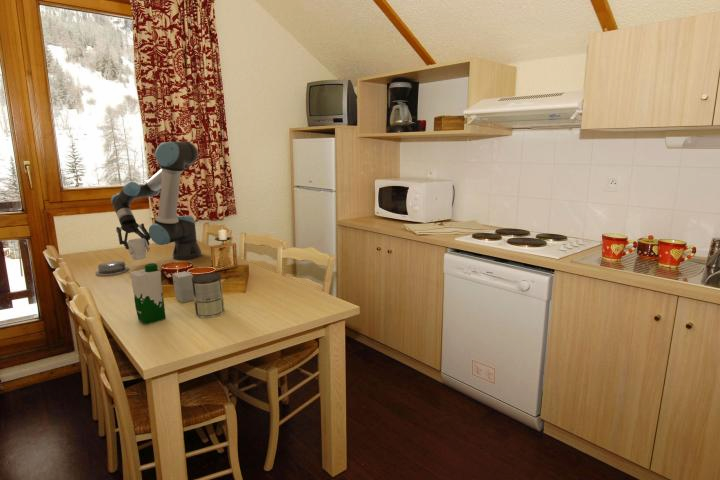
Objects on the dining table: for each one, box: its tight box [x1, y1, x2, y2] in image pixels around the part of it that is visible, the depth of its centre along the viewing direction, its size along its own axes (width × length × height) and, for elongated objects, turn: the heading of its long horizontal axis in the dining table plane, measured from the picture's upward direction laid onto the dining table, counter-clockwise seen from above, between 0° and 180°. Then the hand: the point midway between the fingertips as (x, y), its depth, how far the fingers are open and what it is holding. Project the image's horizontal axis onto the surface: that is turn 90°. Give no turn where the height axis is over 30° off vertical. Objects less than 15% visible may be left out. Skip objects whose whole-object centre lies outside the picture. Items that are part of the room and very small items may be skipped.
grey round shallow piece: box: [95, 260, 130, 277], centre depth 229 cm, size 15×15×4 cm
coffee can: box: [192, 272, 226, 319], centre depth 167 cm, size 10×10×14 cm
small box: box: [171, 271, 194, 303], centre depth 183 cm, size 8×6×10 cm
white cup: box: [127, 237, 147, 261], centre depth 238 cm, size 8×8×10 cm
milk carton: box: [130, 262, 166, 325], centre depth 161 cm, size 9×9×20 cm
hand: (140, 251), depth 236 cm, fingers closed on white cup, 8 cm apart
